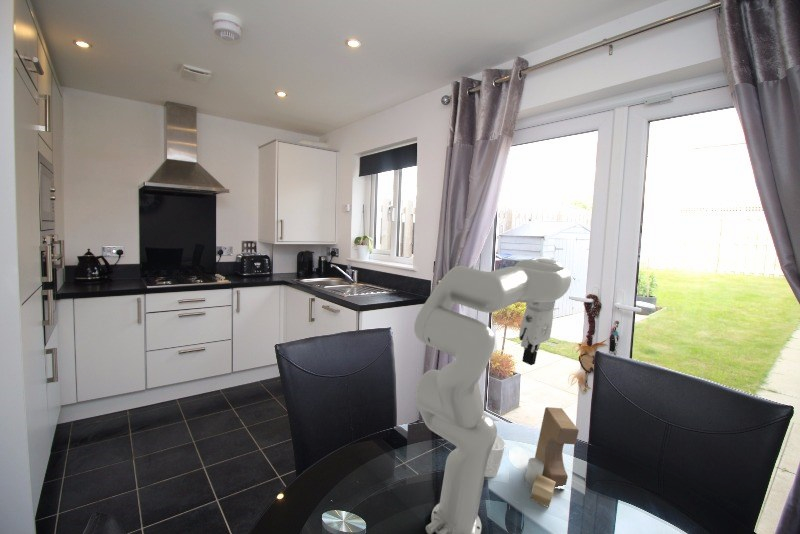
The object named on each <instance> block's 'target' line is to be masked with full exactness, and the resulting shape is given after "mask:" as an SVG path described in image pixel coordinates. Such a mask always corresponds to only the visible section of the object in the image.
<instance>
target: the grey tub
mask: <svg viewBox="0 0 800 534" xmlns="http://www.w3.org/2000/svg"><path fill="white" fill-rule="evenodd" d="M543 469H544V463H543V462H542V461H541V460H539V459H536V458H535V457H530V458H529V459H528V462H527V468H526V472H525V476H524V480H525V482H526V483H527V484H529V485H530V486H532V485H533V484H534V481H535V479H536V477H537V474H540V475H542V473H543Z"/></svg>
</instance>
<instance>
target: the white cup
mask: <svg viewBox="0 0 800 534" xmlns="http://www.w3.org/2000/svg"><path fill="white" fill-rule="evenodd" d="M505 448H506V441H505V440H504V439H503V438H502V437H501V435H498V434H497V435H496V439H495V442H494V445H493V447H492V450H491V452H490V455H489V458H488V462H487V466H486V471H485V476H484V478H485V477H486V478H494V477H497V475H498V473H499V469H500V466H501V463H502V461H503V460H502V459H503V456H504V452H505Z"/></svg>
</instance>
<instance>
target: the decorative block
mask: <svg viewBox="0 0 800 534" xmlns="http://www.w3.org/2000/svg"><path fill="white" fill-rule="evenodd" d="M579 432H580V431H579V429H578V427H577V426H576V425H575V423H574V422H573V421H572V419H571V418H570V417H569V415H568V414H567V413H566V412H565V411H564V409H563V408H562V407H561V408H559V407H549V406H547V407H545V408H544V413H543V418H542V422H541V426H540V431H539V435H538V436H539V437H538V441H537V444H536V445H537V446H536V450H535V455H534V458H536V459H539V460H541V461H542V462H543V463H544V469H543V473H542V476H544V477H546V478H549V479H551V480H553V481H555V482H556V484H555V487H558V486H563V485H567V481H568V477H569V475H568V474H567V471H566V468H565V463H564V458H563V457H564V456H563V452H564V447H565V445H576V444H577V441H578V435H579Z"/></svg>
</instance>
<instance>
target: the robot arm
mask: <svg viewBox="0 0 800 534" xmlns="http://www.w3.org/2000/svg"><path fill="white" fill-rule="evenodd" d="M571 283H572V276H571V273H570V271H569V270H568V269H567V268H565V267H562V263H561V262H559V261H558V260H557V261H556V260H553V259H548V258H536V259H535V260H534V259H522V260H519V261H518V262H517V263H516V264H515V265H514V266H506V267H502V268H498V269H495V270H491V271H484V270H480V269H476V268H473V267H468V266H464V265H456V266H454V267H452V268H451V269H450V270H449V271H448V272H447V273H446V274H445V275H443V277H442V278H441V279H440V281H439V282H438V283H437V285H436V286H435V288H434V289H433V290H432V292H431V294H430V295H429V296H428V298H427V299H426V301H425V302H424V304H423V306H422V307H421V308H420V310H419V311H418V314H417V315H416V317H415V321H414V326H413V327H414V333H415V336H416V338H417V339H418V340H419V341H420V342H421V343H423V344H425V345H426V346H429V347H431V348H434V349H436V350H438V351H441V352H443V353H445V354H447V355H448V356H449V355H450V356H452V357H454V358H455V360H453V361H451V362H449V363H448V364H446V365H444V366H443V367H442V368H441V369H440V370H439V369H429V370H427V371H426V372H424V373H423V374H422V375H421V376H420V378H419V380H418V381H417V384H416V388H415V392H414V394H415V396H414V397H415V403H416V406H417V409H418V411H419V413H420V415H421V417H422V420H423V422H424V423H425V425H426V427H427V428H428V429H429V430H430V431H431V432H433V433H434V434H436V435H438V436H439V437H441V438H443V439H444V440H446V441H448V442H449V443H450V444H452V445H454V446H455V447H456V448H454V449H453V450H452V451H451V452H449V454H448V455H447V458H446V461H445V466H444V472H443V473H444V474H443V480H442V485H441V492H440V499H439V502H438V503H437V504H436V505H435V506H434V507H433V509H432V512H431V517H430V520H431V522H430V523H429V524H427V525H426V526H425V531H426V533H427V534H434V533H435V534H482V528H483V526H482V522H481V517H479V515H478V513H479V509H480V503H481V500H482V499H481V498H482V492H483V486H484V482H485V471H486V466H487V462H488V458H489V455H490V452H491V450H492V447H493V445H494V442H495V439H496V435H498V428H497V425H496V422H494V420H493V419H492V418H491V417H489V415H487V414H485V413H484V411H485V410H484V409H485V407H484V400H483V396H482V393H481V389H480V386H479V385H480V384H479V381H480V379H481V377H482V376H483V374H484V372H485V370H486V368H487V366H488V364H489V362H490V359H491V357H492V355H493V352H494V349H495V346H496V345H495V343H496V342H495V341H496V339H495V337H496V336H495V334H494V332H493V330H492V329H491V328H490V327H489V326H488V325H487V324H485V323H484V322H482V321H480V320H478V319H476V318H473V317H471V316H469V315H465V314H461V313H459V312H457V311H454V310H452V309H453V307H454V305H455V304H458V305H461V306H463V307H466V308H470V309H473V310H475V311H478V312H482V313H488V314H489V313H490V314H491V313H495V312H496V313H497V312H498V311H501V310H503V309H505V308H508V307H510V306H512V305H515V304H516V303H524V304H525V307H526V308H525V311H524V313H523V316H522V320H521V323H520V324H521V325H520V330H519V335H518V338H519V341H521V343H520V347H522V348H523V355H522V362H523V363H525V364H527V365H530V366H533V365H535V364H536V361H537V354H538V351H539V349H540V345H541V344H542V343H545V342H547V341H549V340H550V338H551V333H552V327H553V320H554V319H553V318H554V309H555V305H556V301H557V300H559V299H561V298H562V297H563V296H564V295H566V293H567V292H568V291H569V289H570V286H571Z"/></svg>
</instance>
